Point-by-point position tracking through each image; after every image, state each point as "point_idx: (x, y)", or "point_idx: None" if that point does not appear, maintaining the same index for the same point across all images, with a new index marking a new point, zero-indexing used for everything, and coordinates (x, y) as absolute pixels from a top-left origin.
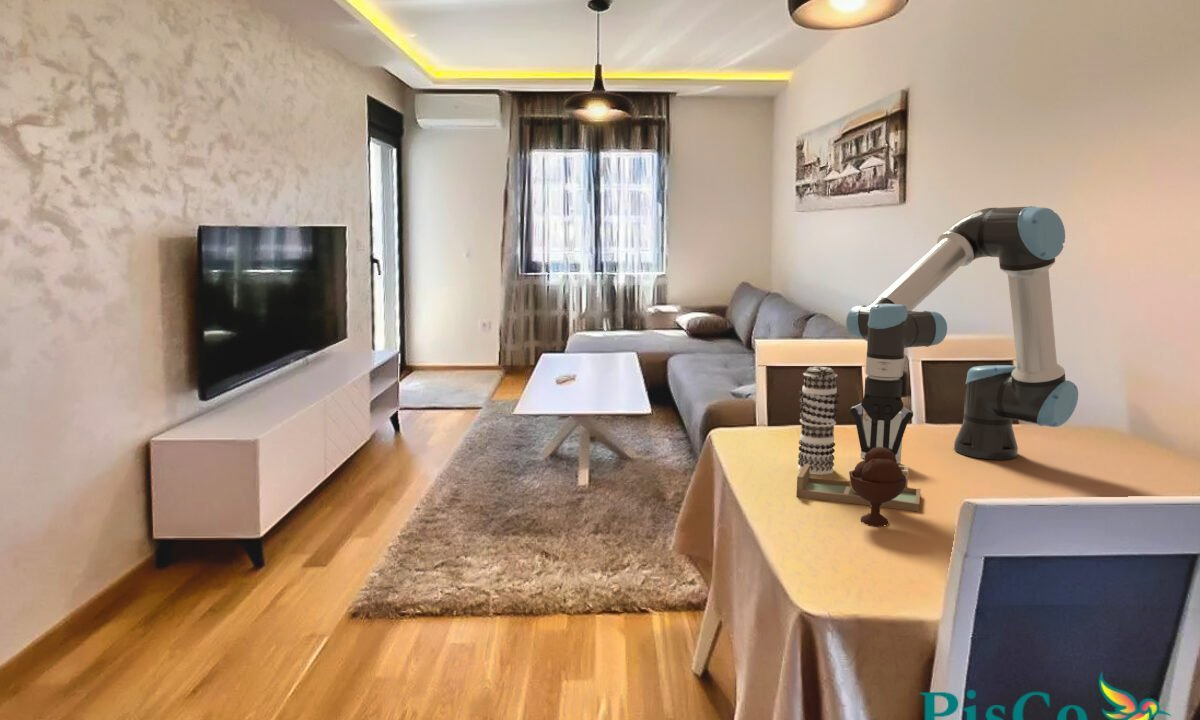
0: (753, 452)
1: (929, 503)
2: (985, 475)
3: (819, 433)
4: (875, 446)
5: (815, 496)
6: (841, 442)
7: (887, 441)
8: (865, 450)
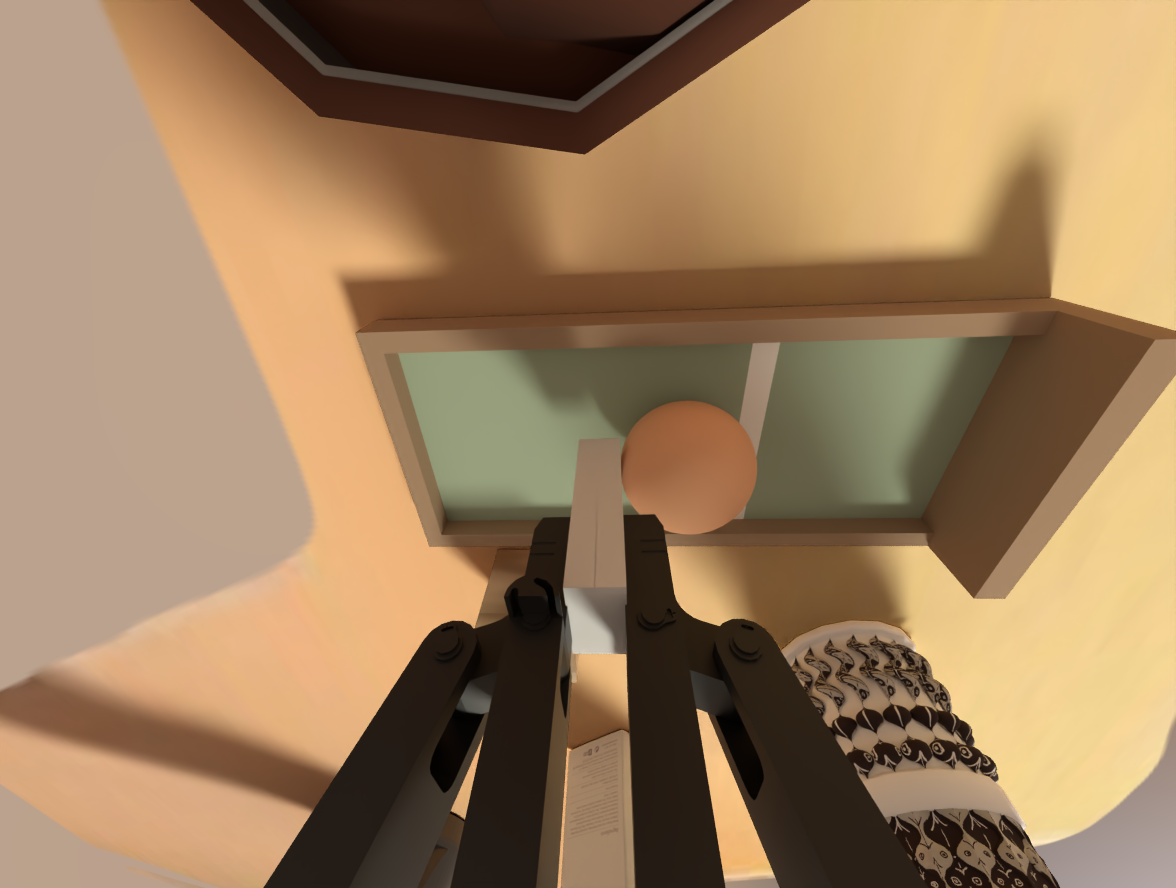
0: (1038, 736)
1: (379, 457)
2: (342, 727)
3: (958, 845)
4: (632, 690)
5: (944, 304)
6: (731, 821)
7: (493, 772)
8: (726, 636)
